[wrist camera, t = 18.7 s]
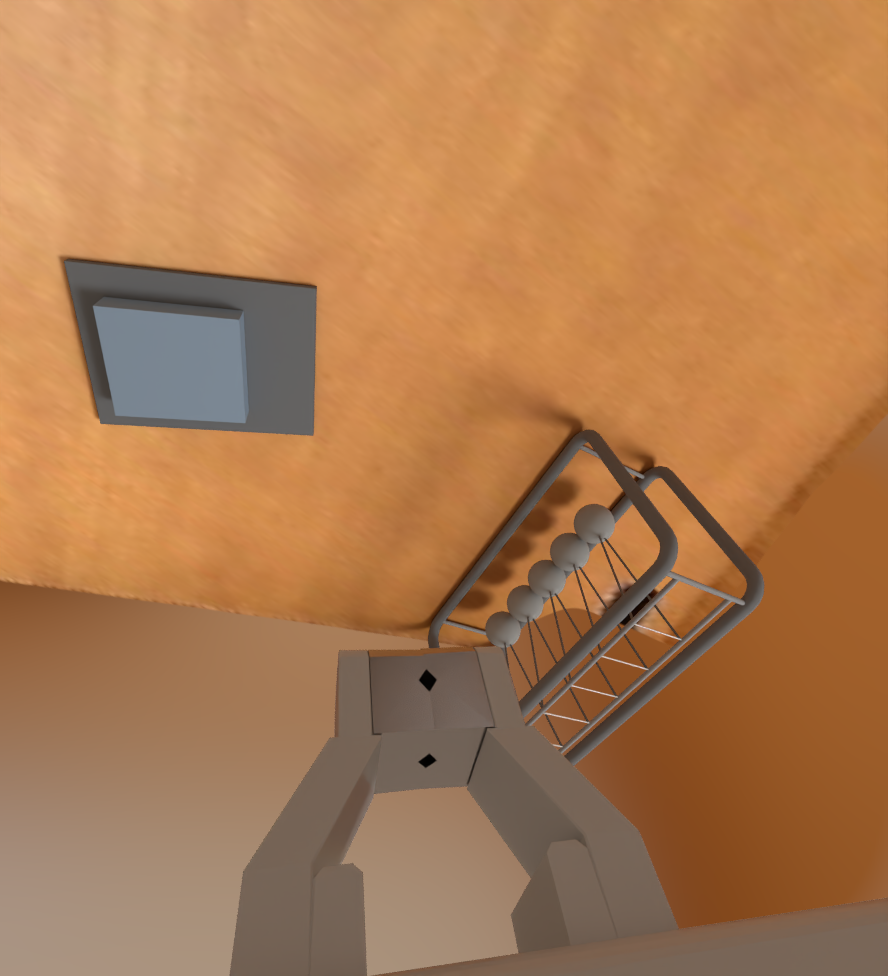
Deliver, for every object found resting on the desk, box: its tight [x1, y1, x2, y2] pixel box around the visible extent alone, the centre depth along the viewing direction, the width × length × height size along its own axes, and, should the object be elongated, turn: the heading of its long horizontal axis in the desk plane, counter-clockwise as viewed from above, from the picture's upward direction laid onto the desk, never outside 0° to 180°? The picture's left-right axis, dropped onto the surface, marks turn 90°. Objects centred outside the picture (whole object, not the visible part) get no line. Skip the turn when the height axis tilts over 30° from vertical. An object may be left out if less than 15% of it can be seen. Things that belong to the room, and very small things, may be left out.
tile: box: [93, 297, 249, 423], centre depth 40 cm, size 2×8×9 cm
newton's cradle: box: [428, 430, 764, 766], centre depth 51 cm, size 30×10×18 cm, turn 150°
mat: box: [64, 259, 317, 436], centre depth 41 cm, size 12×16×1 cm
